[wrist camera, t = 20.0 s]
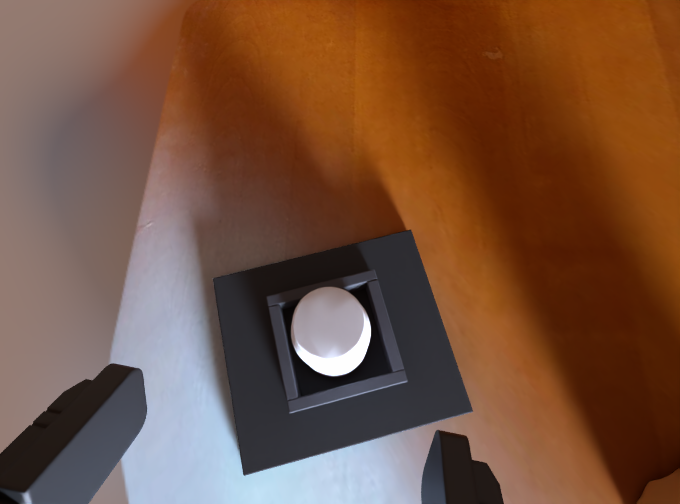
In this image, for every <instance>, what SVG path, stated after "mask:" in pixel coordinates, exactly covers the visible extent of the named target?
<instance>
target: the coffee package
mask: <svg viewBox="0 0 680 504" xmlns="http://www.w3.org/2000/svg"><path fill="white" fill-rule="evenodd" d="M637 504H680V468H679V469H677V470H675V471H674V472H673V473H672V474H670V475H669V476H667V477H664V478H662V479H658V480H654V481H650V482H649V483H647V485H646V487H645V489H644V490H643V494H642V495H641V497H640V498H639V500H638V501H637Z"/></svg>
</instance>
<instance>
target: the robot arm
mask: <svg viewBox="0 0 680 504" xmlns="http://www.w3.org/2000/svg"><path fill="white" fill-rule="evenodd" d="M146 414H147V404H146V396H145V388H144V379H143V373H142V370H141V369H139V368H134V367H129V366H124V365H119V364H114V363H113V364H110V365H108V366H107V367H105V368H104V369H103V370H102V371H101V373H100V374H99V375H98V376H97V377H96V378H95V379H94V380H87V379H86V380H84V381H82V382H80V383H78V384H77V385H75V386H73V387H72V388H70V389H68V390H66V391H65V392H63V393H62V394H61V395H60V396H59V397H58V398H57V399H56V400H55V401H54V402H53V403H52V404H51V405H50V406H49V407H48V408H47V411H46V412H45V411H44V412H43V413H42V414H41V415H40V416H39V417H38V418H37V419H36V420H35V421H33V424H32V425H29V426H28V427H27V428H26V429H25V430H24V431H23V432H22V433H21V434H20V435H19V436H18V437H17V438H16V439H15V440H14V441H13V442H12V443H11V444H10V445H9V446H8V447H7V448H6V449H5V450H4V451H3V452H2V453H1V454H0V504H88V503H89V502H90V501H91V499H92V498H93V496H94V495H95V493H96V492H97V491H98V490H99V488H100V487H101V485H102V484H103V483H104V481H105V480H106V478H107V477H108V476H109V474H110V473H111V471H112V470H113V468H114V467H115V466H116V464H117V463H118V462H119V460H120V459H121V457H122V456H123V455H124V453H125V452H126V450H127V449H128V448H129V446H130V445H131V443H132V442H133V441H134V439H135V438H136V436H137V435H138V434H139V432H140V430H141V429H142V427H143V424H144V422H145V419H146ZM421 501H422V504H504V502H503V498H502V493H501V489H500V484H499V483H498V481H497V479H496V478H495V476H494V474H493V473H492V471H491V469H490V468H489V466H488V464H487V463H484V462H479V461H474V460H472V458H471V452H470V446H469V441H468V438H467V436H465V435H460V434H455V433H450V432H445V431H440V430H437V431H436V432H435V435H434V438H433V441H432V444H431V447H430V451H429V454H428V457H427V460H426V463H425V467H424V471H423V476H422V486H421Z"/></svg>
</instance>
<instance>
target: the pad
mask: <svg viewBox="0 0 680 504" xmlns="http://www.w3.org/2000/svg"><path fill="white" fill-rule="evenodd" d="M213 282H214V288H215V295H216V301H217V308H218V314H219V320H220V327H221V333H222V340H223V346H224V353H225V359H226V365H227V372H228V378H229V385H230V391H231V398H232V404H233V410H234V417H235V423H236V430H237V436H238V443H239V449H240V455H241V462H242V468H243V475H244V476H245V475H249V474H252V473H256V472H259V471H263V470H266V469H270V468H274V467H277V466H281V465H284V464H288V463H291V462H295V461H299V460H302V459H306V458H309V457H313V456H317V455H320V454H324V453H327V452H331V451H334V450H338V449H342V448H345V447H349V446H352V445H356V444H359V443H363V442H367V441H370V440H374V439H377V438H381V437H385V436H388V435H392V434H395V433H399V432H402V431H406V430H410V429H413V428H417V427H420V426H424V425H427V424H431V423H435V422H438V421H442V420H445V419H449V418H452V417H456V416H460V415H463V414H467V413H470V412H473V410H472V407H471V404H470V401H469V398H468V395H467V392H466V390H465V387H464V384H463V381H462V378H461V375H460V372H459V369H458V366H457V363H456V360H455V357H454V354H453V351H452V349H451V346H450V343H449V340H448V337H447V334H446V331H445V328H444V325H443V322H442V319H441V316H440V313H439V310H438V308H437V305H436V302H435V299H434V296H433V293H432V290H431V287H430V284H429V281H428V278H427V275H426V272H425V269H424V266H423V264H422V261H421V258H420V255H419V252H418V249H417V246H416V243H415V240H414V237H413V234H412V231H411V230H407V231H403V232H399V233H395V234H391V235H387V236H383V237H379V238H375V239H371V240H367V241H363V242H359V243H355V244H351V245H347V246H342V247H338V248H334V249H330V250H326V251H322V252H318V253H314V254H310V255H306V256H302V257H298V258H294V259H290V260H286V261H282V262H278V263H274V264H270V265H265V266H261V267H257V268H253V269H249V270H245V271H241V272H237V273H233V274H229V275H225V276H221V277H217V278H213ZM322 287H336V288H340V289H343V290H345V291H347V292H349V293H350V294H352V295H353V296H354V297H355V298H356V299H357V300H358V301H359V303H360V304H361V305H362V307H363V308H364V309H365V311H366V313H367V315H368V318H369V321H370V326H371V336H370V341H369V345H368V348H367V351H366V354H365V356H364V359H363V360H362V362H361V363H360V365H359V366H358V367H357V368H356V369H354V370H353V371H352V372H350V373H348V374H346V375H344V376H339V377H330V376H325V375H322V374H319V373H318V372H316V371H315V370H313V369H312V368H311V367H310V366H309V365H308V364H307V363H306V362H304V361H303V360H302V359H301V358H300V356H299V355H298V354H297V352H296V350H295V348H294V346H293V343H292V338H291V325H292V319H293V314H294V311H295V309H296V307H297V305H298V303H299V302H300V301H301V299H302V298H303V297H304V296H306V295H307V294H308V293H310V292H311V291H313V290H316V289H318V288H322Z"/></svg>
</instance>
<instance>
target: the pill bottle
mask: <svg viewBox="0 0 680 504" xmlns="http://www.w3.org/2000/svg"><path fill="white" fill-rule="evenodd" d="M370 336H371V326H370V321H369V318H368V315H367V313H366V311H365V309H364V308H363V307H362V305H361V304H360V303H359V301H358V300H357V299H356V298H355V297H354V296H353V295H352V294H350V293H349V292H347V291H345V290H343V289H340V288H336V287H322V288H318V289H316V290H313V291H311V292H310V293H308V294H307V295H306V296H304V297H303V298H302V299H301V301H300V302H299V303H298V305H297V307H296V309H295V311H294V314H293V319H292V325H291V338H292V343H293V346H294V348H295V350H296V352H297V354H298V355H299V356H300V358H301V359H302V360H303V361H304V362H306V363H307V364H308V365H309V366H310V367H311V368H312V369H313V370H315V371H316V372H318V373H319V374H322V375H325V376H330V377H339V376H344V375H346V374H348V373H350V372H352V371H353V370H354V369H356V368H357V367H358V366H359V365H360V363H361V362H362V360H363V359H364V356H365V354H366V351H367V348H368V345H369V341H370Z"/></svg>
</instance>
